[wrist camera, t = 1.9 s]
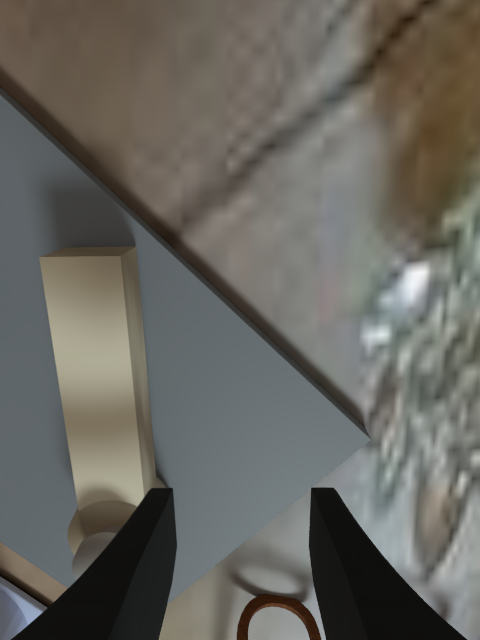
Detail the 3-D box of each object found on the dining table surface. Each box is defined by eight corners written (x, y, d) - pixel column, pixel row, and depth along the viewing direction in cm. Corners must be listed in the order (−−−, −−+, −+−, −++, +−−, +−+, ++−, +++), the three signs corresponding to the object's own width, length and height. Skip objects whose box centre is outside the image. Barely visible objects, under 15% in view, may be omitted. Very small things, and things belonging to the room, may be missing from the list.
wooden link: (175, 537, 23) (160, 609, 19) (91, 537, 23) (60, 608, 19) (153, 246, 18) (128, 263, 14) (48, 247, 18) (-4, 265, 15)
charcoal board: (136, 615, 26) (132, 632, 25) (-278, 328, 21) (-303, 335, 20) (365, 428, 22) (370, 439, 21) (-80, 12, 17) (-99, 2, 16)
